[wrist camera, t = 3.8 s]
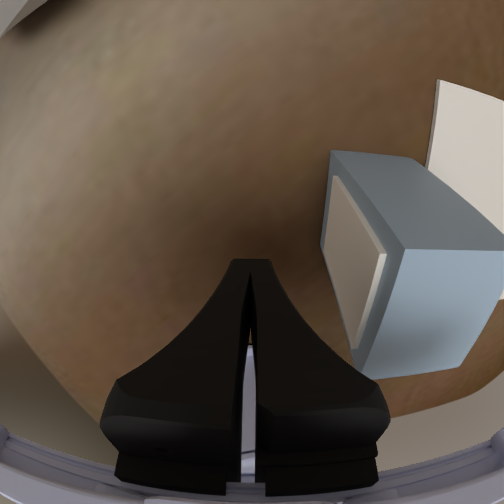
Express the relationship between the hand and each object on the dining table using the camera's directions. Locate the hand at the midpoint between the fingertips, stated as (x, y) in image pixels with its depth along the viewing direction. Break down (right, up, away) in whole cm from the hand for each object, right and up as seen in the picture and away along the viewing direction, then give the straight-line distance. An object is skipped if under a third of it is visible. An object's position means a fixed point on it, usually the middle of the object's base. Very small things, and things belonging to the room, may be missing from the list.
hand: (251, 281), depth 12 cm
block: (+7, +4, +6) cm, 10 cm away
